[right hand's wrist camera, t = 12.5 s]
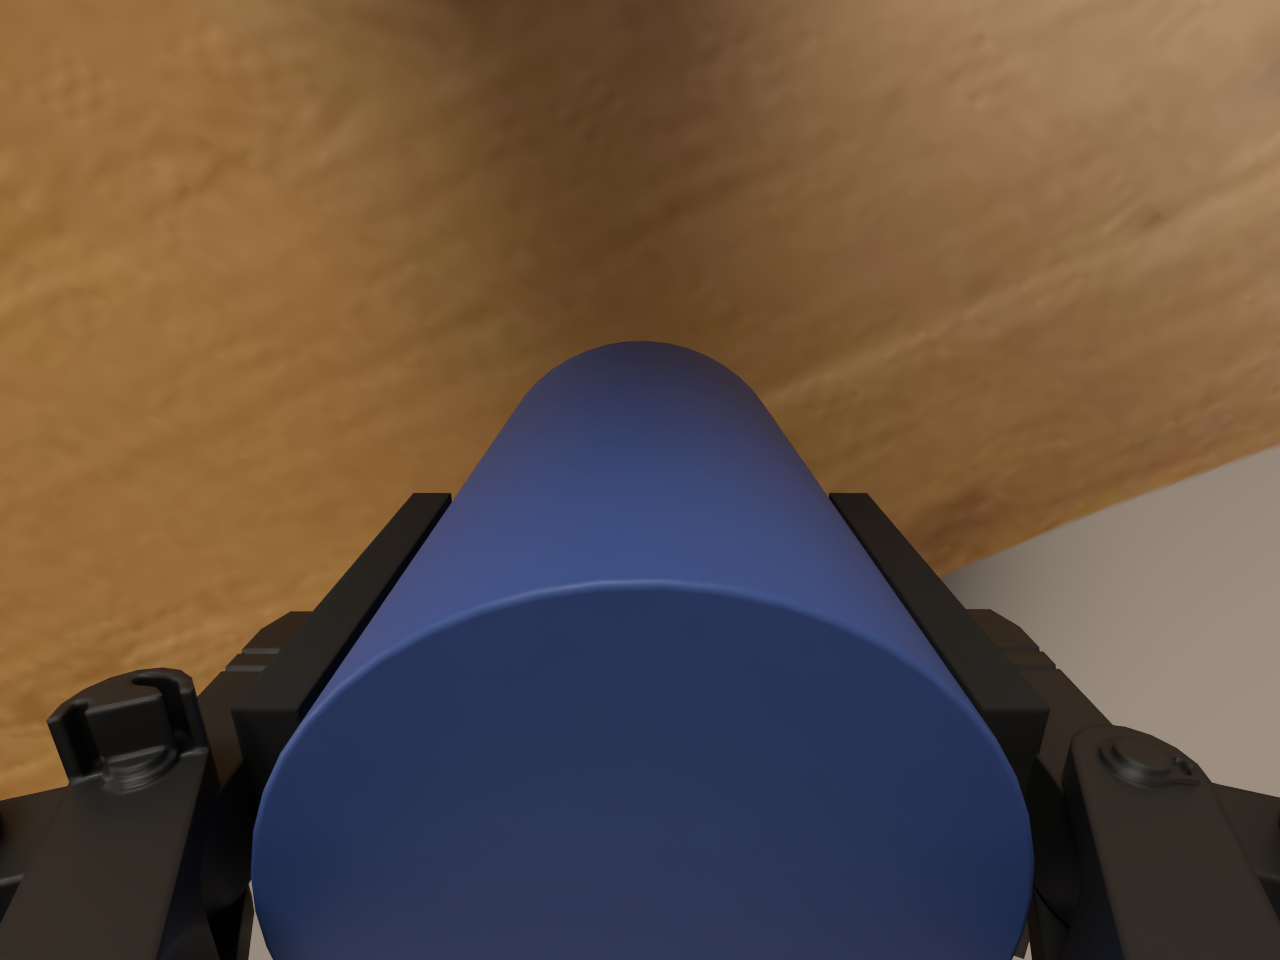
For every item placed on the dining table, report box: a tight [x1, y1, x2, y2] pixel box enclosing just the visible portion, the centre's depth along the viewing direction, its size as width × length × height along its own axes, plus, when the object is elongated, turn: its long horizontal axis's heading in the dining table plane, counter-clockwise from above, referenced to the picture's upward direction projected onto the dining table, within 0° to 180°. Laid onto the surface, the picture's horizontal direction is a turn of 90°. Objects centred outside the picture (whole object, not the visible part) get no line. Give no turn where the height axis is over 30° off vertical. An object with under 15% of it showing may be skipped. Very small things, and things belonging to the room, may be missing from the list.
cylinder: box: [251, 341, 1034, 960], centre depth 12 cm, size 8×8×12 cm
